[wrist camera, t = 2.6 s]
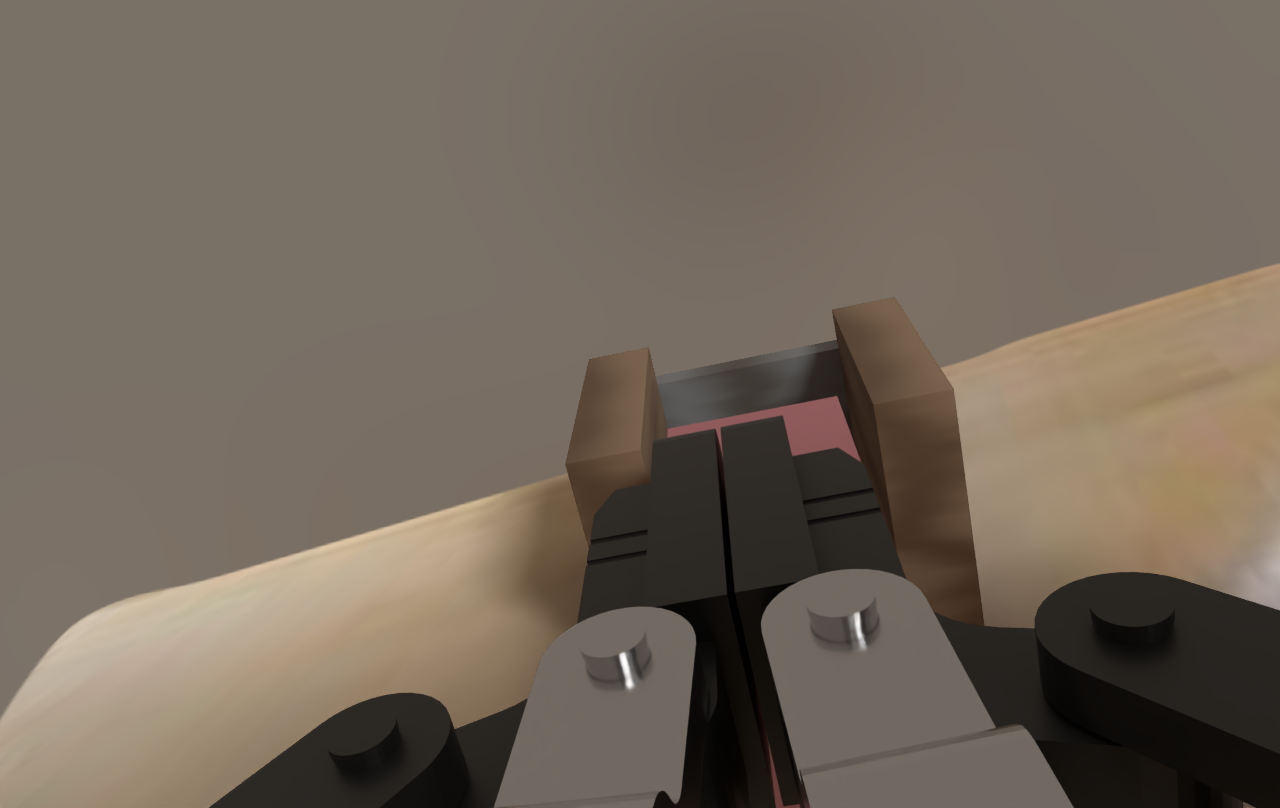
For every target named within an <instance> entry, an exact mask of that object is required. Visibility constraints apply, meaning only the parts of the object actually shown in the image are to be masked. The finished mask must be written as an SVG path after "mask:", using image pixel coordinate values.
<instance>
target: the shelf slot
mask: <svg viewBox="0 0 1280 808" xmlns="http://www.w3.org/2000/svg"><path fill="white" fill-rule="evenodd" d="M832 313H833V319H834V324H835V331H836V337H837V340H834V341H829V342H824V343H819V344H815V345H810V346H804V347H800V348H795V349H790V350H785V351H780V352H775V353H770V354H765V355H760V356H755V357H750V358H745V359H740V360H735V361H730V362H725V363H720V364H715V365H711V366H705V367H700V368H696V369H691V370H685V371H680V372H675V373H671V374H665V375H660V376H655V372H654V368H653V364H652V359H651V355H650V351H649V348H648V347H647V348H643V349H638V350H633V351H628V352H623V353H618V354H613V355H608V356H603V357H598V358H593V359H589V362H588V366H587V371H586V376H585V380H584V384H583V388H582V393H581V398H580V402H579V406H578V411H577V415H576V419H575V424H574V429H573V433H572V437H571V441H570V446H569V450H568V455H567V459H566V464H565V465H566V468H567V472H568V475H569V479H570V482H571V486H572V490H573V493H574V497H575V500H576V504H577V508H578V511H579V515H580V518H581V522H582V525H583V529H584V533H585V536H586V540H587V543H588V547H589V545H591V541H590V538H591V532H592V525H593V519H594V514H595V513H596V512H597V511H598V510H599V509H600V507H601V506H602V505H603V504H604V503H605V501H606V500H607V499H608V498H609V497H610V496H611V494H612V493H613V492H614V491H615V490H617V489H622V488H627V487H633V486H638V485H643V484H649V483H650V481H651V463H652V445H653V440H658V439H663V438H667V436H668V429H670V428H675V427H680V426H685V425H690V424H695V423H700V422H706V421H711V420H716V419H721V418H726V417H731V416H737V415H742V414H747V413H752V412H757V411H762V410H768V409H773V408H778V407H783V406H788V405H793V404H798V403H804V402H809V401H814V400H819V399H824V398H829V397H835V396H837V397H838V400H839V403H840V405H841V408H842V411H843V414H844V416H845V419H846V422H847V425H848V427H849V430H850V433H851V436H852V438H853V441H854V444H855V447H856V449H857V452H858V455H859V458H860V460H861V462H862V463H863V464H864V465H865V468H866V470H867V473H868V476H869V478H870V481H871V484H872V487H873V491H874V492H875V495H876V497H877V500H878V503H879V506H880V509H881V512H882V514H883V516H884V519H885V522H886V525H887V527H888V530H889V533H890V535H891V538H892V541H893V544H894V546H895V549H896V552H897V554H898V557H899V560H900V563H901V565H902V568H903V571H904V573H905V576H906V579H907V580H908V581H910V582H912V583H913V584H914V585H915V586H917V587H918V588H919V589H920V590H921V592H922V593H923V594H924V596H925V597H926V599H927V601H928V603H929V605H930V606H931V608H932V610H933V611H934V612H936V613H938V614H940V615H942V616H945V617H947V618H950V619H952V620H956V621H960V622H963V623H967V624H973V625H979V626H984V620H983V612H982V604H981V597H980V589H979V581H978V573H977V566H976V558H975V550H974V542H973V535H972V527H971V519H970V511H969V504H968V496H967V488H966V480H965V473H964V465H963V457H962V449H961V442H960V434H959V426H958V418H957V411H956V403H955V395H954V389H953V387H952V386H951V384H950V382H949V381H948V379H947V378H946V376H945V375H944V373H943V371H942V370H941V368H940V367H939V365H938V364H937V362H936V361H935V359H934V357H933V356H932V354H931V353H930V351H929V350H928V348H927V347H926V345H925V343H924V342H923V341H922V339H921V338H920V336H919V334H918V333H917V331H916V329H915V328H914V326H913V325H912V323H911V322H910V320H909V319H908V317H907V315H906V314H905V312H904V311H903V309H902V308H901V306H900V304H899V303H898V302H897V300H896V299H895V297H892V298H887V299H882V300H877V301H873V302H867V303H862V304H858V305H853V306H848V307H843V308H838V309H833V310H832Z"/></svg>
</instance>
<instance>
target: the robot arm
mask: <svg viewBox="0 0 1280 808" xmlns="http://www.w3.org/2000/svg"><path fill="white" fill-rule="evenodd" d="M720 429H721V441H722V451H721V447H720V443H719V439H718V435H717V432H716V429H715V428H714V429H709V430H704V431H699V432H694V433H689V434H683V435H678V436H673V437H668V438H663V439H658V440H653V445H652V463H651V481H650V483H649V484H643V485H638V486H633V487H627V488H622V489H617V490H615V491H614V492H613V493H612V494H611V496H610V497H609V498H608V499H607V500H606V501H605V503H604V504H603V505H602V506H601V507H600V509H599V510H598V511H597V512H596V513H595V514H594V519H593V525H592V532H591V538H590V541H591V545H589V551H588V558H587V563H588V566H586V571H585V577H584V584H583V590H582V597H581V603H580V610H579V616H578V623H577V624H576V625H574V626H573V627H571V628H570V629H568V630H566V631H565V632H564V633H563V634H561V635H560V636H559V637H558V638H556V639H555V640H554V641H553V643H552V644H551V645H550V646H549V647H548V648H547V650H546V651H545V653H544V654H543V656H542V658H541V660H540V663H539V666H538V669H537V672H536V675H535V678H534V681H533V685H532V688H531V691H530V694H529V697H528V699H526V700H524V701H522V702H520V703H518V704H517V705H515V706H512V707H510V708H508V709H506V710H503V711H501V712H498V713H496V714H493V715H491V716H488V717H486V718H483V719H480V720H478V721H475V722H473V723H470V724H467V725H465V726H462V727H460V728H457V729H454V726H453V724H452V721H451V718H450V715H449V713H448V711H447V709H446V707H445V706H444V705H443V704H442V703H441V702H440V701H438V700H436V699H434V698H432V697H430V696H426V695H423V694H416V693H397V694H390V695H384V696H380V697H376V698H372V699H369V700H366V701H363V702H360V703H358V704H356V705H353V706H351V707H349V708H347V709H345V710H343V711H341V712H339V713H338V714H336V715H334V716H332V717H331V718H329V719H328V720H326V721H325V722H323V723H322V724H320V725H319V726H318V727H316V728H315V729H314V730H312V731H311V732H310V733H308V734H307V735H306V736H304V737H303V738H302V739H300V740H299V741H298V742H296V743H295V744H294V745H292V746H291V747H289V748H288V749H287V750H285V751H284V752H283V753H281V754H280V755H279V756H277V757H276V758H275V759H273V760H272V761H271V762H269V763H268V764H267V765H265V766H264V767H263V768H261V769H260V770H259V771H257V772H256V773H255V774H253V775H252V776H251V777H249V778H248V779H246V780H245V781H244V782H242V783H241V784H240V785H238V786H237V787H236V788H234V789H233V790H232V791H230V792H229V793H228V794H226V795H225V796H224V797H222V798H221V799H220V800H218V801H217V802H216V803H214V804H213V805H212V806H210V807H209V808H776V803H775V795H774V786H773V777H772V768H771V760H770V751H769V746H770V750H771V755H772V759H773V764H774V768H775V772H776V777H777V781H778V786H779V790H780V795H781V799H782V803H783V807H784V806H791V805H797V804H800V808H1243V802H1245V803H1247V804H1249V805H1252V806H1254V807H1256V808H1280V611H1279V610H1276V609H1273V608H1270V607H1267V606H1264V605H1260V604H1257V603H1254V602H1251V601H1248V600H1245V599H1241V598H1238V597H1235V596H1232V595H1229V594H1226V593H1222V592H1219V591H1216V590H1213V589H1210V588H1207V587H1204V586H1200V585H1197V584H1194V583H1191V582H1188V581H1185V580H1181V579H1177V578H1173V577H1169V576H1164V575H1158V574H1152V573H1139V572H1118V573H1108V574H1101V575H1096V576H1091V577H1086V578H1083V579H1080V580H1077V581H1074V582H1072V583H1069V584H1067V585H1065V586H1063V587H1061V588H1059V589H1058V590H1056V591H1055V592H1053V593H1052V594H1050V595H1049V596H1048V597H1047V598H1046V599H1045V600H1044V601H1043V602H1042V604H1041V605H1040V607H1039V608H1038V610H1037V613H1036V616H1035V629H1031V628H1001V627H987V626H979V625H973V624H967V623H963V622H960V621H956V620H952V619H950V618H947V617H945V616H942V615H940V614H938V613H936V612H934V611H933V610H932V608H931V606H930V605H929V603H928V601H927V599H926V597H925V596H924V594H923V593H922V592H921V590H920V589H919V588H918V587H917V586H915V585H914V584H913V583H912V582H910V581H908V580H907V579H906V576H905V573H904V571H903V568H902V565H901V563H900V560H899V557H898V554H897V552H896V549H895V546H894V544H893V541H892V538H891V535H890V533H889V530H888V527H887V525H886V522H885V519H884V516H883V514H882V512H881V509H880V506H879V503H878V500H877V497H876V495H875V492H874V491H873V487H872V484H871V481H870V478H869V476H868V473H867V470H866V468H865V465H864V464H863V463H862V462H860V461H859V460H857V459H855V458H854V457H852V456H851V455H849V454H848V453H846V452H844V451H843V450H841V449H840V448H838V447H837V448H832V449H827V450H821V451H816V452H811V453H806V454H800V455H795V456H792V453H791V448H790V444H789V440H788V435H787V431H786V426H785V422H784V418H783V415H780V416H775V417H770V418H765V419H760V420H755V421H749V422H744V423H739V424H734V425H729V426H724V427H721V428H720ZM722 453H723V456H722ZM768 741H769V742H768Z"/></svg>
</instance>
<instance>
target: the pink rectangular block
mask: <svg viewBox="0 0 1280 808" xmlns="http://www.w3.org/2000/svg"><path fill="white" fill-rule="evenodd" d="M780 415H783V418H784V422H785V426H786V431H787V435H788V440H789V444H790V448H791V453H792V456H795V455H800V454H806V453H811V452H816V451H821V450H827V449H832V448H837V447H838V448H840V449H841V450H843V451H844V452H846V453H848V454H849V455H851V456H852V457H854V458H855V459H857V460H859V461H860V462H861V460H860V458H859V455H858V452H857V449H856V447H855V444H854V441H853V438H852V436H851V433H850V430H849V427H848V425H847V422H846V419H845V416H844V414H843V411H842V408H841V405H840V403H839V400H838V397H837V396H835V397H829V398H824V399H819V400H814V401H809V402H804V403H798V404H793V405H788V406H783V407H778V408H773V409H768V410H762V411H757V412H752V413H747V414H742V415H737V416H731V417H726V418H721V419H716V420H711V421H706V422H700V423H695V424H690V425H685V426H680V427H675V428H670V429H668V436H667V438H668V437H673V436H678V435H683V434H689V433H694V432H699V431H704V430H709V429H714V428H715V429H716V432H717V435H718V439H719V443H720V447H721V451H722V441H721V429H720V428H721V427H724V426H729V425H734V424H739V423H744V422H749V421H755V420H760V419H765V418H770V417H775V416H780ZM722 456H723V453H722ZM768 742H769V741H768ZM769 751H770V760H771V768H772V777H773V786H774V795H775V803H776V808H800V804H797V805H791V806H784V807H783V803H782V799H781V795H780V790H779V786H778V781H777V777H776V772H775V768H774V764H773V759H772V755H771V750H770V746H769Z"/></svg>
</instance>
